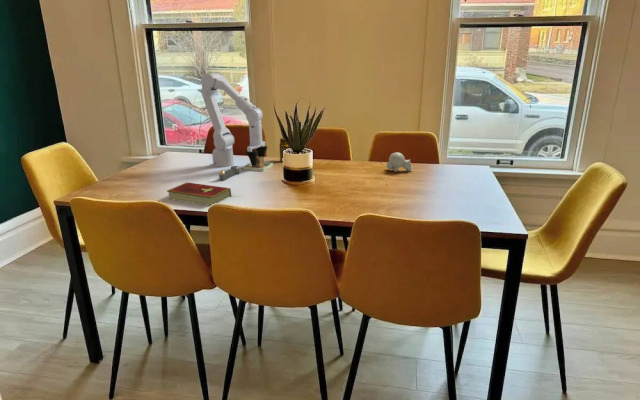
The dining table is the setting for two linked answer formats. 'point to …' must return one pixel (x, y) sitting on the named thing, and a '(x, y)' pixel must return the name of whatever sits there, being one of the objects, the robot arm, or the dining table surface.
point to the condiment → (282, 147)
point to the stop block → (259, 162)
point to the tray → (257, 168)
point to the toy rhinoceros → (398, 162)
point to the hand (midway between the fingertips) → (257, 163)
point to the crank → (229, 173)
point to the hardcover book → (199, 193)
